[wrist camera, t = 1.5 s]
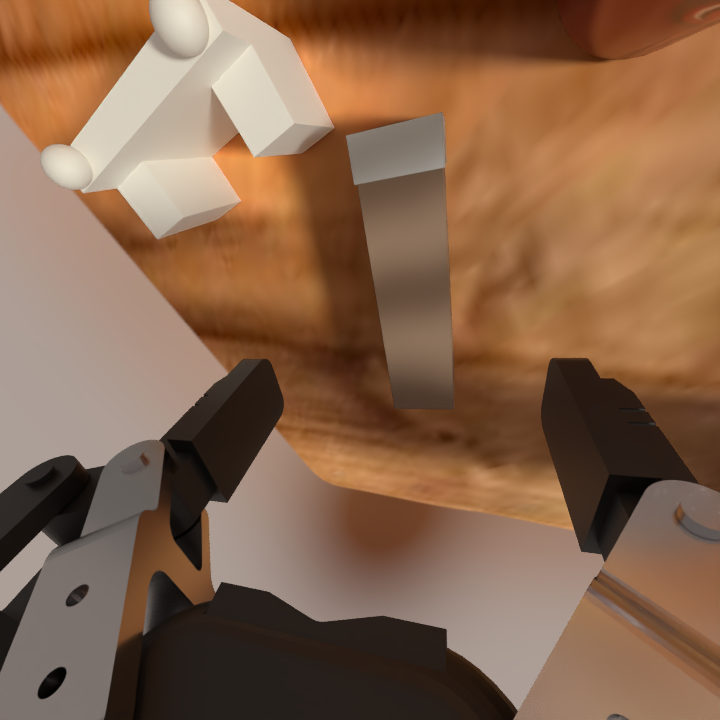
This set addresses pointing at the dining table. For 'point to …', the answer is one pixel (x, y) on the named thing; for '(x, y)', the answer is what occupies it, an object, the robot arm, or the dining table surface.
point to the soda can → (634, 24)
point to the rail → (409, 254)
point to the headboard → (192, 115)
